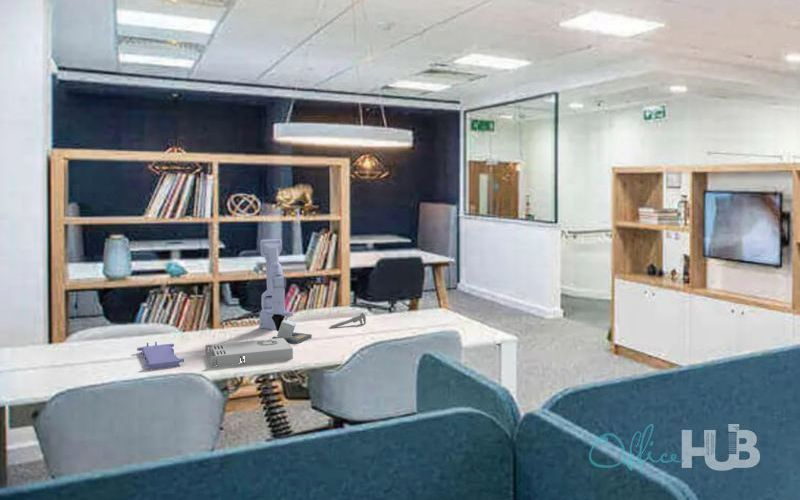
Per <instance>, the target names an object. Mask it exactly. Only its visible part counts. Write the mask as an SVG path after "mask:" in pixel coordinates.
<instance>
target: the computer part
mask: <svg viewBox="0 0 800 500" xmlns="http://www.w3.org/2000/svg"><path fill="white" fill-rule="evenodd" d="M157 343H158V341H155V342H154V345H149V342H146V346H139V347H137V348H136V351H138V352H139V351H140V352H141V353H142V352H143V353H142V355H143V354H144V355H143V357H144V356H145V357H144V359H145V358H146V359H145V361H146V360H147V361H146V362H145V363H143V367H144V368H146V367H148V368H149V367H150V368H149V370H150V369H154V370H159V369H158V368H161V369H169V368H176V366H177V367H180V364H181V363H185V358H178V357H177V355H175V349H174V346H175V344H174V343H167V344H166V343H164V344H157ZM147 362H148V363H147ZM168 367H169V368H168Z"/></svg>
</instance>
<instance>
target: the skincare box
mask: <svg viewBox="0 0 800 500" xmlns="http://www.w3.org/2000/svg"><path fill="white" fill-rule="evenodd" d="M296 325H297V323H296V322H294V321H291V320H288V319H285V318H284V319H283V321H282V322H281V325H280V328H279V331H277V334H276V337H282V338H291V337H293V336H292V334H293V332H294V330H295V327H296Z"/></svg>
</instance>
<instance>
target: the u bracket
mask: <svg viewBox="0 0 800 500" xmlns="http://www.w3.org/2000/svg"><path fill="white" fill-rule="evenodd" d="M312 336H313V335H312V334H311V333H301V332H294V331H293V334H292V337H291V338H284V339H285V340H286V341H287V343H288V344H295V345H296V344H300V343H301V342H305V341H308V340H310V339H312ZM276 338H282V337H278V336H272V337H271V339H276Z"/></svg>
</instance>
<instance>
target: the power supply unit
mask: <svg viewBox="0 0 800 500" xmlns="http://www.w3.org/2000/svg"><path fill="white" fill-rule="evenodd" d="M293 350H294V349H293V346H291V344H290V343H288V342H287V341H286V340H285V339H284V338H276V339H272V338H268V339H267V338H266V339H256V340H254V339H253V340H246V341H236V342H223V343H215V344H214V343H212V344H206V345H205V352H204V353H205V356H206V358H207V357H208V358H209V360H208V362H209V361H210V363H209V365H210V368H214V367H213V366H216V365H217V366H216V367H223V366H222V365H228V366H233V365H232V364H237V365H240V364H239V363H240V358H241V361H242V363H243V361H244V359H243V356H245V363H246V364H251V363H250V362H256V363H263V362H262V361H265V362H274V360H275V361H282V360H284V361H285V360H291V359H293V358H294V351H293ZM208 358H207V359H208ZM245 363H243V364H245Z"/></svg>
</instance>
